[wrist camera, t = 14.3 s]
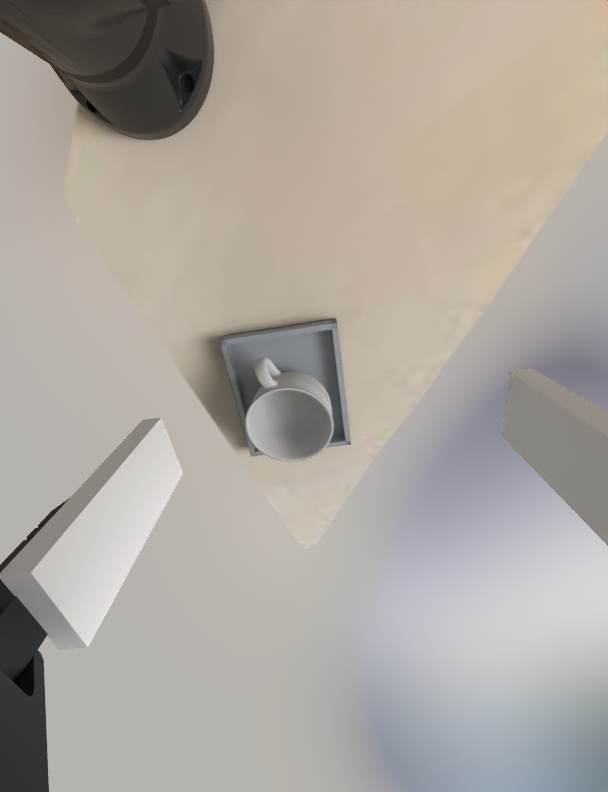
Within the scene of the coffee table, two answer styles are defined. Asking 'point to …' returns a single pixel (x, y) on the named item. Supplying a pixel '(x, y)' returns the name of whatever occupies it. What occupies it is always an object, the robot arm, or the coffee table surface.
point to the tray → (289, 366)
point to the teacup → (289, 414)
